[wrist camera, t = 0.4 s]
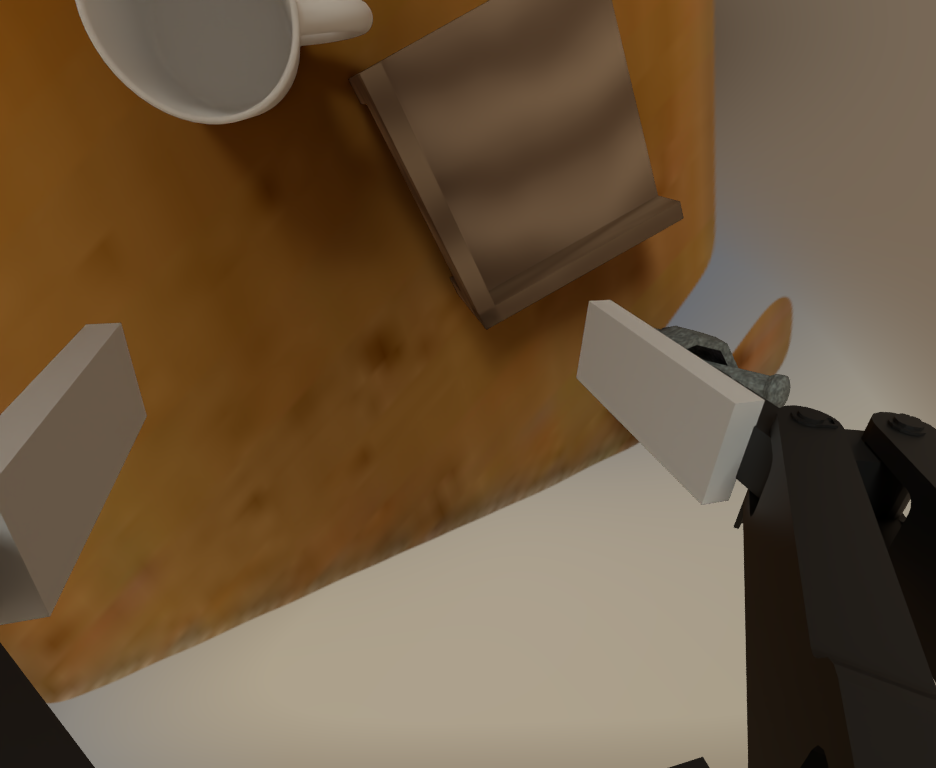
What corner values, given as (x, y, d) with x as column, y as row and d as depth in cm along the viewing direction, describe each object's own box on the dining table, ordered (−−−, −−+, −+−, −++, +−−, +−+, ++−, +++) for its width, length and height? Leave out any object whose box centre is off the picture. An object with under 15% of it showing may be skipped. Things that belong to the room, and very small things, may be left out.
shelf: (348, 79, 32) (359, 73, 26) (558, -39, 33) (621, -73, 26) (457, 294, 41) (486, 329, 35) (624, 200, 41) (683, 218, 35)
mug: (351, -56, 30) (372, -122, 21) (372, 109, 34) (397, 112, 25) (116, -56, 27) (28, -132, 18) (169, 122, 31) (117, 131, 22)
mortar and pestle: (600, 416, 51) (674, 495, 41) (583, 334, 46) (663, 400, 36) (702, 372, 52) (800, 438, 41) (696, 286, 47) (806, 338, 37)
